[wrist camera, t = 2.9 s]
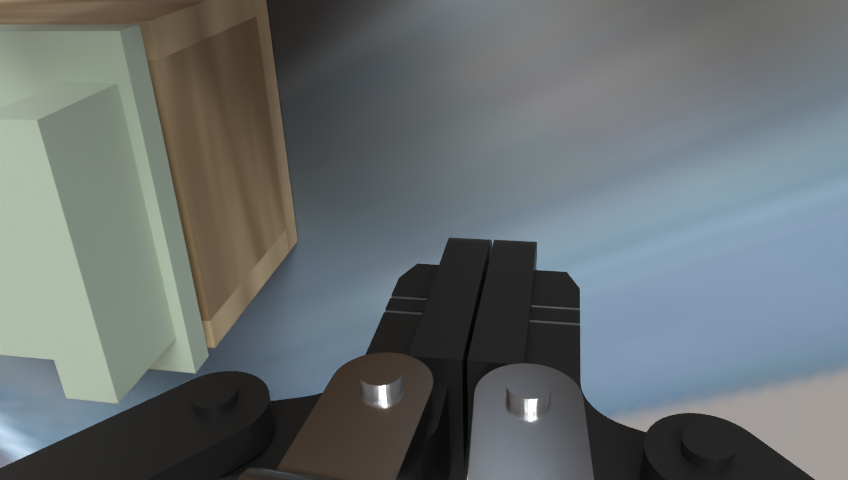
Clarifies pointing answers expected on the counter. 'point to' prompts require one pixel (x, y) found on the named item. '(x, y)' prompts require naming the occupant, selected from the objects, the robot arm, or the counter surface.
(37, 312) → the lid
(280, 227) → the oak box
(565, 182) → the counter surface
